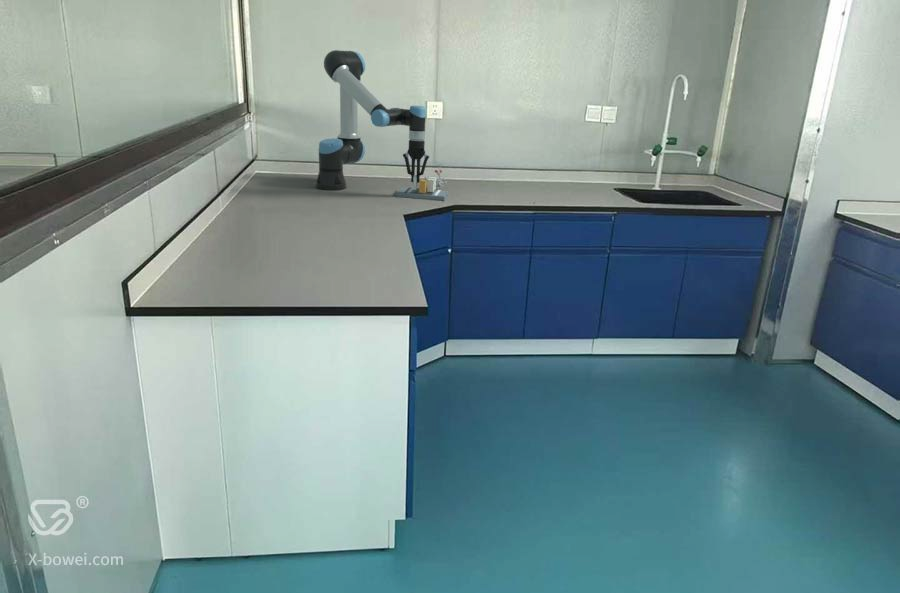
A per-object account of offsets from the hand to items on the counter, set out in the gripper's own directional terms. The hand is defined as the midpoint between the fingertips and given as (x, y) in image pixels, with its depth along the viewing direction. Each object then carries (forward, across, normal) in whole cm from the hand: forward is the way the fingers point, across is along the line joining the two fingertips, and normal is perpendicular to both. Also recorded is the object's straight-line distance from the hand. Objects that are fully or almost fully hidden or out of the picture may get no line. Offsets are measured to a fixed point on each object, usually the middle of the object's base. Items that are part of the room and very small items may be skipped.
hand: (415, 189), depth 308 cm
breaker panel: (+4, +3, +4) cm, 6 cm away
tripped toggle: (+1, +4, 0) cm, 4 cm away
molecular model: (+4, +7, +23) cm, 25 cm away
